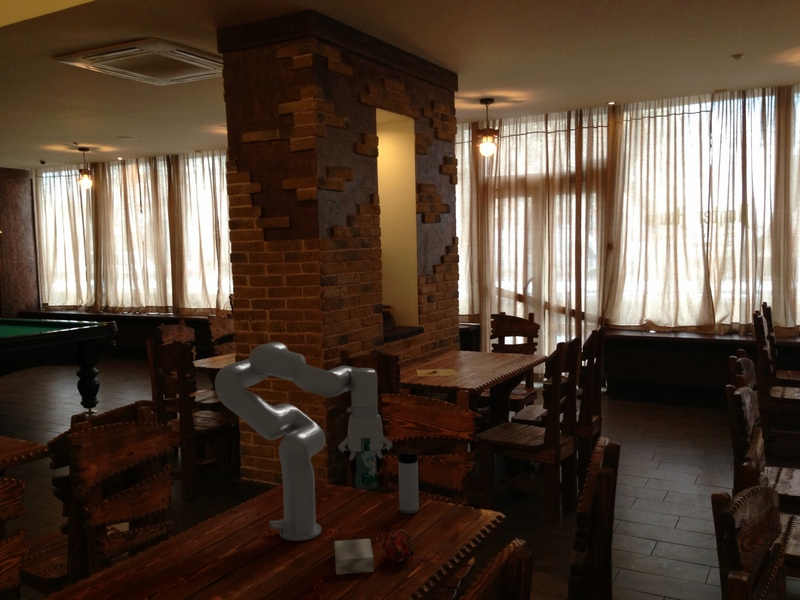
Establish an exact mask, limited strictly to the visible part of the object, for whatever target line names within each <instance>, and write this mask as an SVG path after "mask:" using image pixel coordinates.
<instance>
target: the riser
mask: <svg viewBox="0 0 800 600" xmlns="http://www.w3.org/2000/svg"><path fill="white" fill-rule="evenodd" d="M334 558H335V559H334V560H335V573H336V575H337V576H338V575H348V574H349V573H350V574H360V573H373V572H374V571H375V567H374V565H375V564H374V552H373V547H372V543H371V539H370V538H361V539H359V538H358V539H347V540H334Z"/></svg>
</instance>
